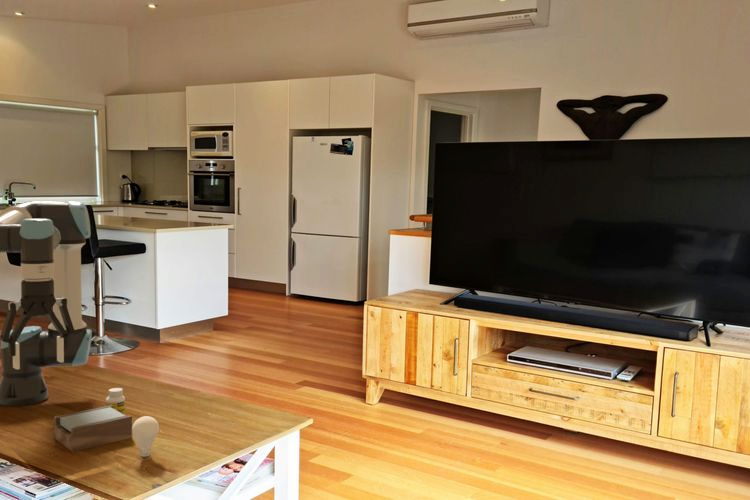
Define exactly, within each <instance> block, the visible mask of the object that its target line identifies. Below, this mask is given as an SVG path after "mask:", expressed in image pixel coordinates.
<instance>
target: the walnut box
mask: <svg viewBox="0 0 750 500" xmlns="http://www.w3.org/2000/svg"><path fill="white" fill-rule="evenodd" d="M109 407H111V408H113V406H112V405H109V406H106V405H105V406H101V407H96V408H92V409H91V408H90V409H86V410H80V411H75V412H71V413H67V414H62V415H57V416H54V417H53V423H54V424H53V428H54V429H53V438H54V440H55V441H58V443H60V444H62V446H64V447H65V448H67V449H68V450H69V451H71V452H72V453H75V452H79V451H84V450H87V449H92V448H96V447H100V446H103V445H108V444H112V443H116V442H119V441H124V440H128V439H132V438H133V434H132V427H133V416H132V415H131V414H129V415H125V417H120V418H116V419H111V420H107V421H102V422H97V423H93V424H88V425H84V426H79V427H75V428H71V432H70V431H69V430H67V429H66V428H64V427H63V426H61V425H60V417H65V416H70V415H75V414H80V413H85V412H89V411H94V410H99V409H104V408H109Z"/></svg>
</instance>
